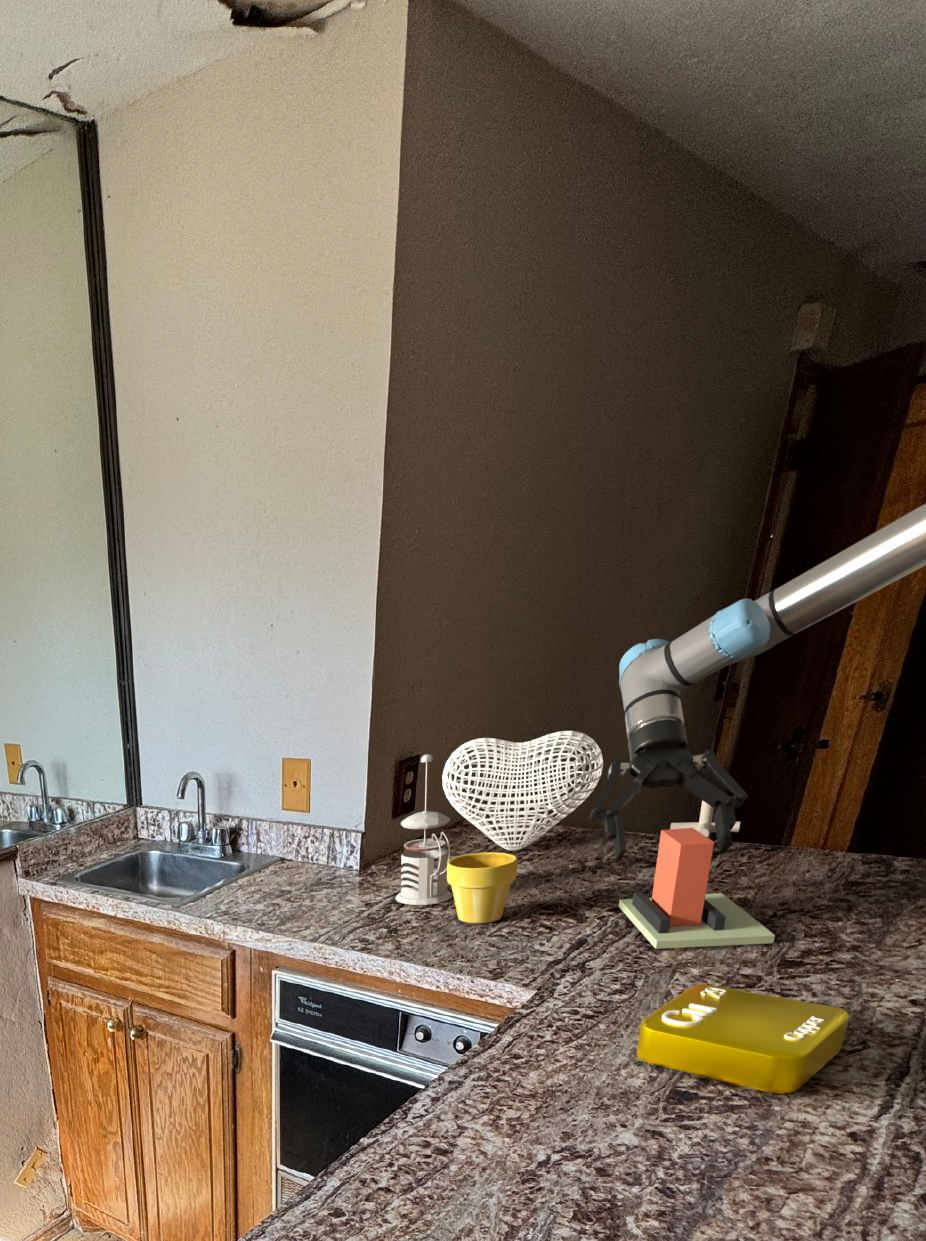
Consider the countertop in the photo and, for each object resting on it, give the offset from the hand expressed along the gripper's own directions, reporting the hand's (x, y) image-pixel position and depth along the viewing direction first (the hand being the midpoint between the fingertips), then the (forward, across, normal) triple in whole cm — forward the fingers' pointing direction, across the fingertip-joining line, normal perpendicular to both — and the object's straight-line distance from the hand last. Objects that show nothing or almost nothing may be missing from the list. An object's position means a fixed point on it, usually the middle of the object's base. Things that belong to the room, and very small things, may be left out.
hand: (672, 852), depth 132 cm
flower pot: (+4, +26, -9) cm, 28 cm away
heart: (-25, +14, -39) cm, 48 cm away
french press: (-5, +33, -18) cm, 38 cm away
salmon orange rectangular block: (+10, 0, -2) cm, 10 cm away
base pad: (+11, -2, -3) cm, 11 cm away
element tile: (+41, +6, +28) cm, 50 cm away
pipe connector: (-15, -14, -29) cm, 35 cm away
